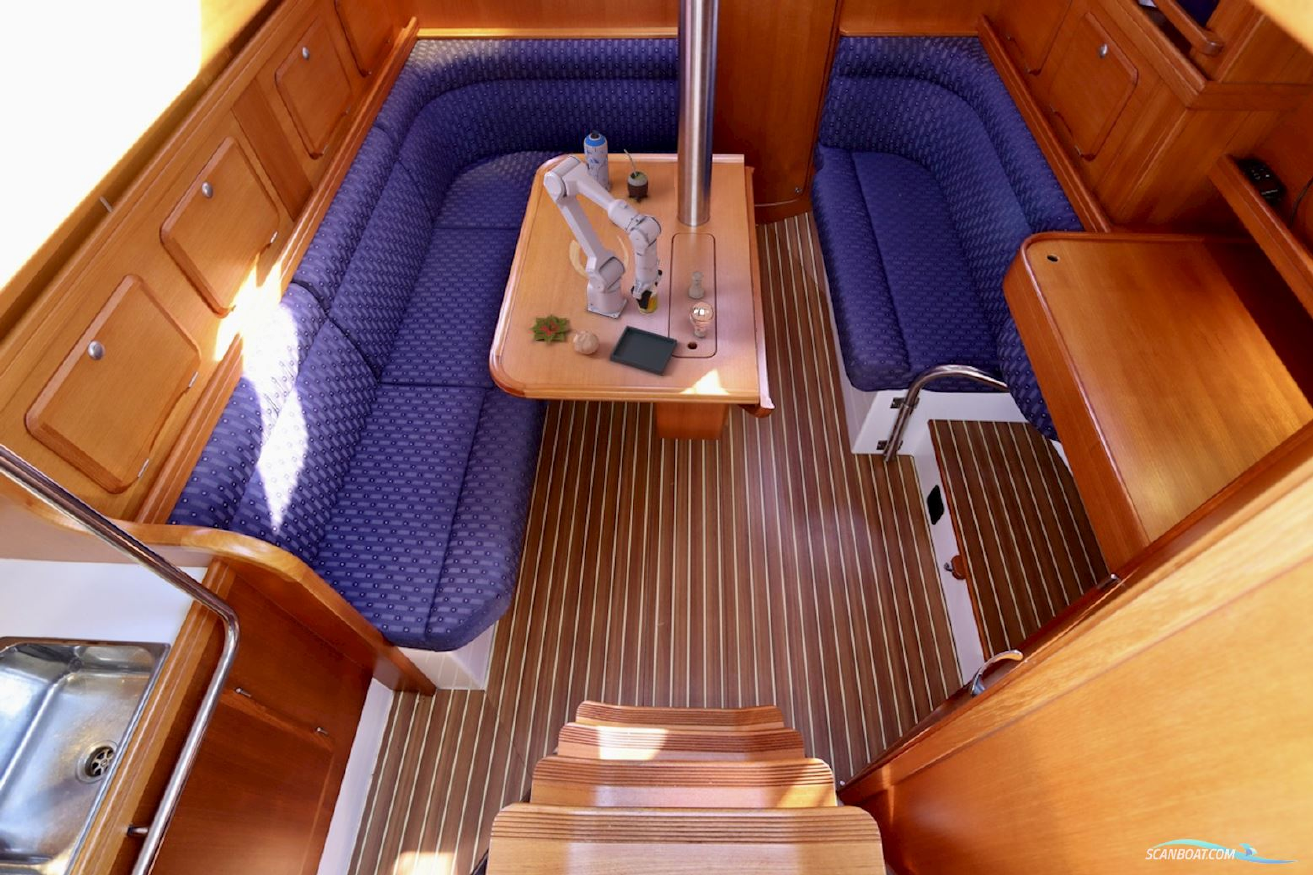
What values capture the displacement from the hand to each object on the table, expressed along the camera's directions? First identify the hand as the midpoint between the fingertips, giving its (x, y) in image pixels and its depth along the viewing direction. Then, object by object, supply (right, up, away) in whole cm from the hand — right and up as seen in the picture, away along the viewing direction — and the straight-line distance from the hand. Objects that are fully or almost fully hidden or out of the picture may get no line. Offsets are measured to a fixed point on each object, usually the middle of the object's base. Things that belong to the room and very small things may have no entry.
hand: (647, 300), depth 178 cm
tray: (-1, -14, +3) cm, 14 cm away
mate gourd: (-4, +44, +42) cm, 61 cm away
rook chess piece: (+14, +5, +16) cm, 22 cm away
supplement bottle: (0, -2, +3) cm, 3 cm away
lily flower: (-28, -7, +7) cm, 30 cm away
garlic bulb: (-17, -13, +3) cm, 22 cm away
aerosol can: (-17, +48, +44) cm, 68 cm away
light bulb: (+15, -9, +6) cm, 18 cm away
